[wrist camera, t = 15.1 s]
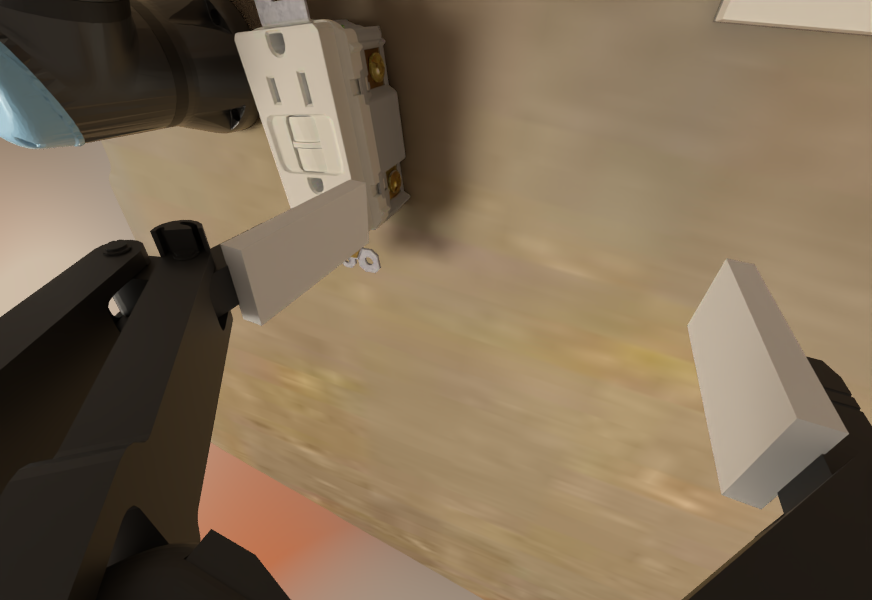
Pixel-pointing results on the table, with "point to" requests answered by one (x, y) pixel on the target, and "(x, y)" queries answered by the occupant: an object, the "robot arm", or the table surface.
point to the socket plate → (800, 14)
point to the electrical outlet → (326, 108)
